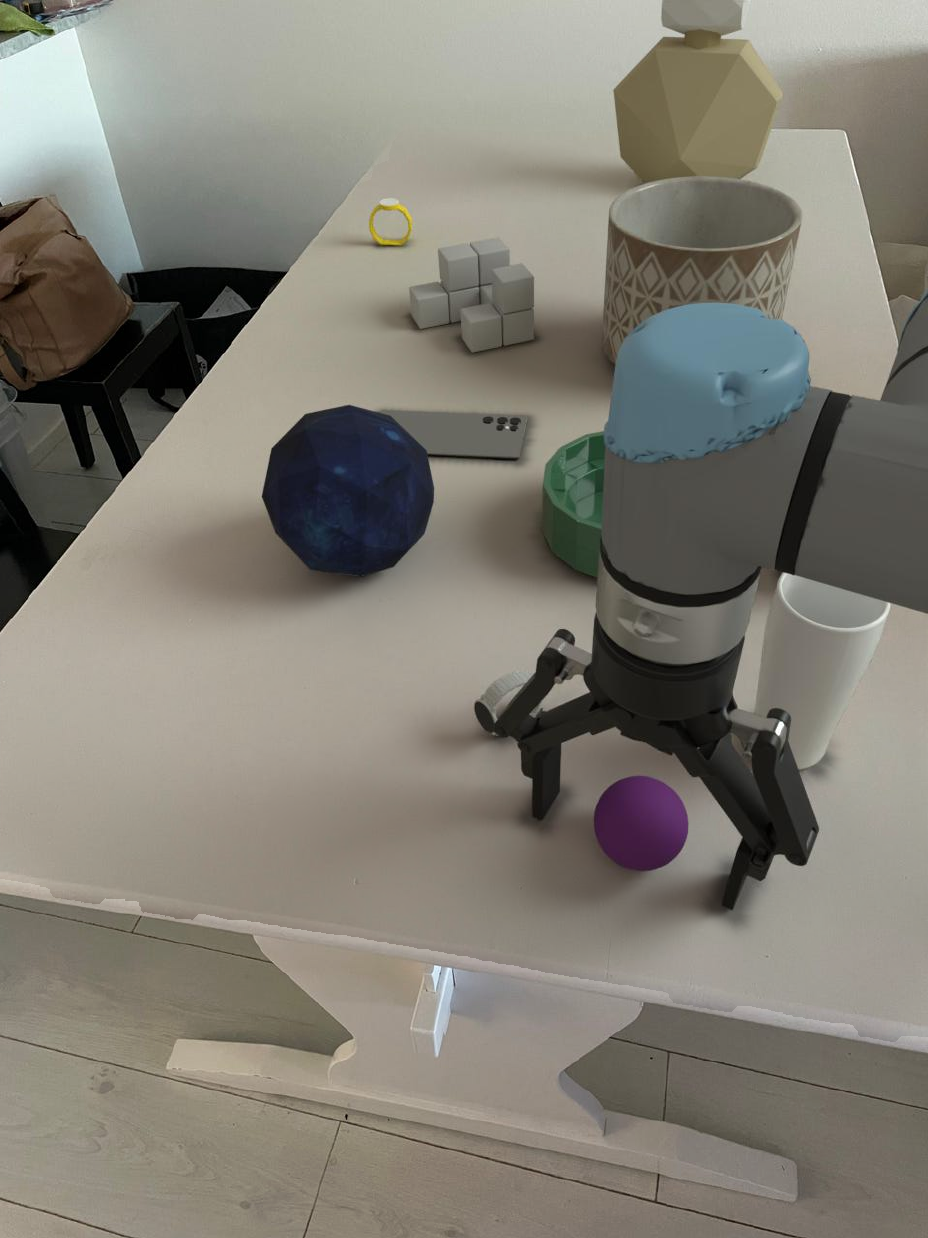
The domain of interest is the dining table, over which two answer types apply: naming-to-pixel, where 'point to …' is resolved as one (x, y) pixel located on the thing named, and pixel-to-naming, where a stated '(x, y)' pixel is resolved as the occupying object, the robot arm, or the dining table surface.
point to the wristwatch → (498, 698)
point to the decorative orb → (348, 490)
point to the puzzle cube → (478, 295)
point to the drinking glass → (815, 658)
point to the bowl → (575, 502)
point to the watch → (389, 205)
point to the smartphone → (464, 433)
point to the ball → (640, 823)
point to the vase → (697, 97)
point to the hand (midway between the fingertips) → (635, 846)
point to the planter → (696, 250)
